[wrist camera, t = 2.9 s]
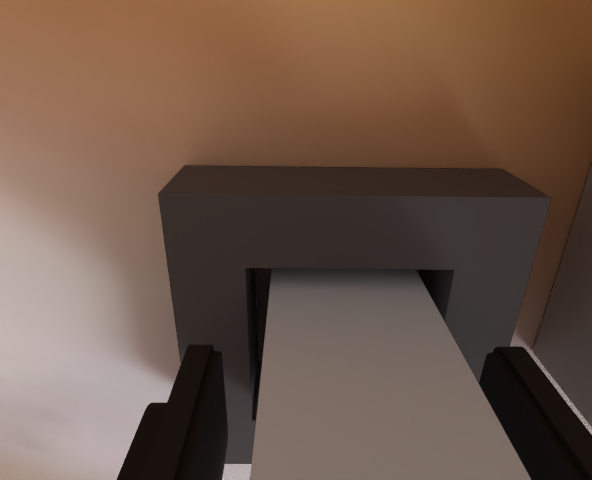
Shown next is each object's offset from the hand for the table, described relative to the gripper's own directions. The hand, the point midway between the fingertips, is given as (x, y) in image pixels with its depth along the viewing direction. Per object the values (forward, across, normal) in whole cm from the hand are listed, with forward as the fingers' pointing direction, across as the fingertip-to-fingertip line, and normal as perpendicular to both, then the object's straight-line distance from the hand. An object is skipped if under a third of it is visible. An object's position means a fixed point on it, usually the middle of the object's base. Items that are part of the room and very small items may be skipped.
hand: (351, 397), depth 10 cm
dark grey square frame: (+4, 0, 0) cm, 4 cm away
